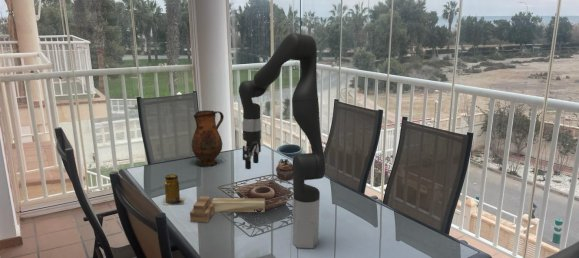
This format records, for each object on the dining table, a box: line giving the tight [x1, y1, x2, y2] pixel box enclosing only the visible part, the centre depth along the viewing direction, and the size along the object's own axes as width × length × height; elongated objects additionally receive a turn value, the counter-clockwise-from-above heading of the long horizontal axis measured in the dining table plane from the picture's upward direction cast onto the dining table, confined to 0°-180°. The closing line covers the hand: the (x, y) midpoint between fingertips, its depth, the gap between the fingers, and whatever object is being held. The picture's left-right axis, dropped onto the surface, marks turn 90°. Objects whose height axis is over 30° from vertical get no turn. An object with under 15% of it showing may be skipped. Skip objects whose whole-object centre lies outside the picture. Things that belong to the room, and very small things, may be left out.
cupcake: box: [275, 158, 293, 182], centre depth 220 cm, size 10×10×10 cm
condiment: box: [163, 173, 186, 206], centre depth 189 cm, size 7×8×12 cm
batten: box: [211, 197, 266, 213], centre depth 182 cm, size 4×22×4 cm, turn 91°
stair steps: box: [189, 195, 215, 224], centre depth 174 cm, size 10×7×7 cm
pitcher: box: [190, 110, 224, 168], centre depth 241 cm, size 17×21×30 cm
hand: (252, 165), depth 181 cm, fingers open, 8 cm apart
